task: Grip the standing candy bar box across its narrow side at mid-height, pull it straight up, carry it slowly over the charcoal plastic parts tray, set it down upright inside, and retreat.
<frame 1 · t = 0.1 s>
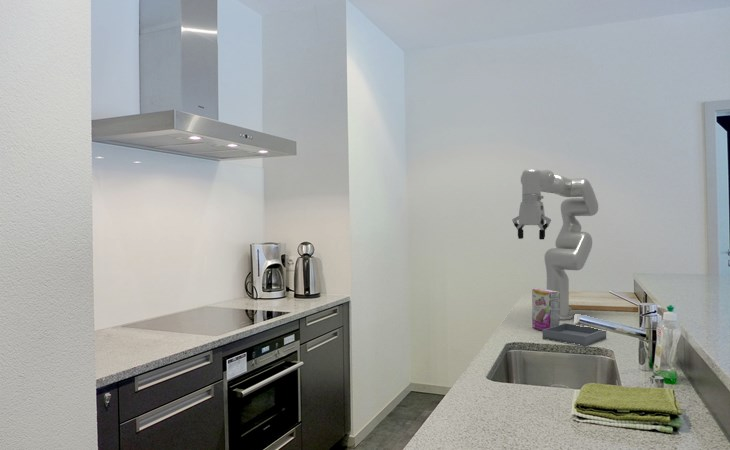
hand: (531, 239, 234), 37 cm above the countertop, tool pointing down, fingers open, 9 cm apart
parts tray: (574, 338, 208), on the countertop
candy bar box: (545, 331, 223), on the countertop
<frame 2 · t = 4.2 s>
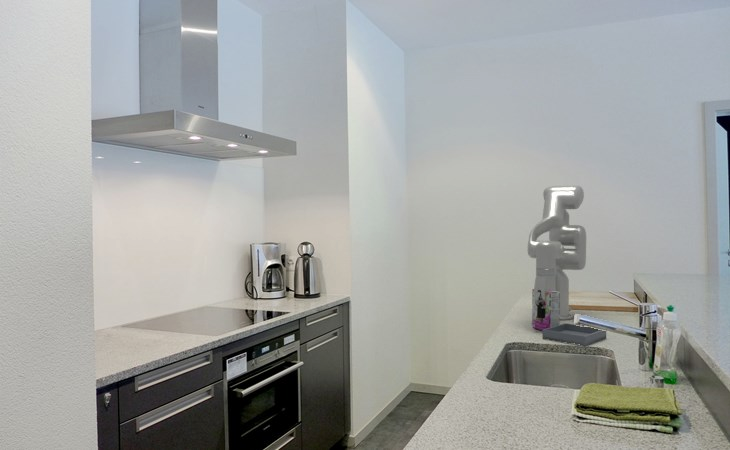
hand: (545, 316, 223), 6 cm above the countertop, tool pointing down, fingers closed on candy bar box, 6 cm apart
candy bar box: (545, 330, 223), on the countertop, touching gripper
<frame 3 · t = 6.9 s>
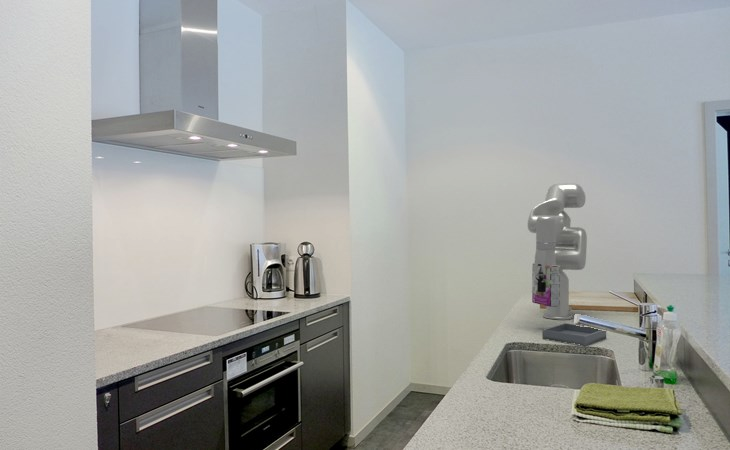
hand: (545, 290, 223), 16 cm above the countertop, tool pointing down, fingers closed on candy bar box, 6 cm apart
candy bar box: (545, 305, 223), point 10 cm above the countertop, touching gripper
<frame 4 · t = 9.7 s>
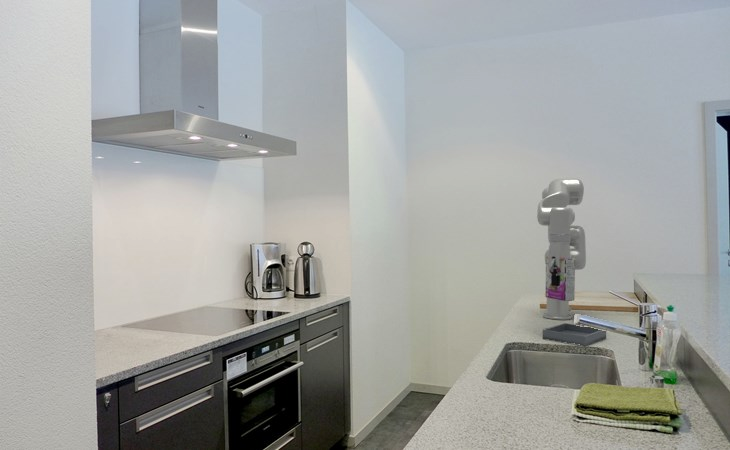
hand: (559, 284, 215), 20 cm above the countertop, tool pointing down, fingers closed on candy bar box, 6 cm apart
candy bar box: (559, 299, 215), point 14 cm above the countertop, touching gripper
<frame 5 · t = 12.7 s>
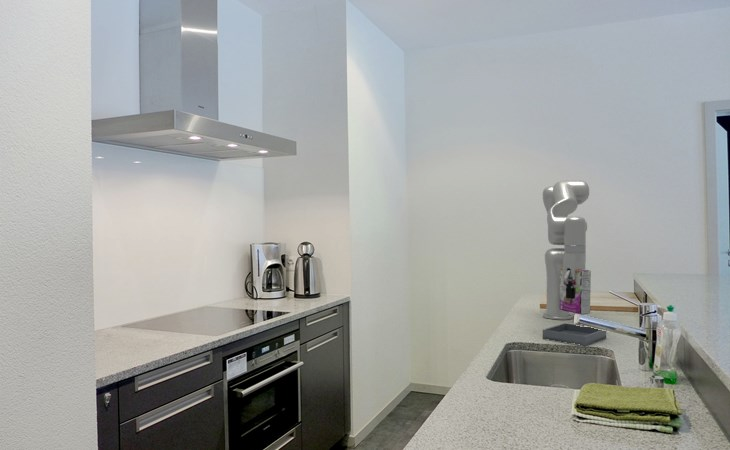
hand: (574, 297, 208), 16 cm above the countertop, tool pointing down, fingers closed on candy bar box, 6 cm apart
candy bar box: (574, 312, 208), point 10 cm above the countertop, touching gripper
when the fingers open (7 cm above the countertop, at t = 15.3 s): candy bar box stays where it is, resting on parts tray.
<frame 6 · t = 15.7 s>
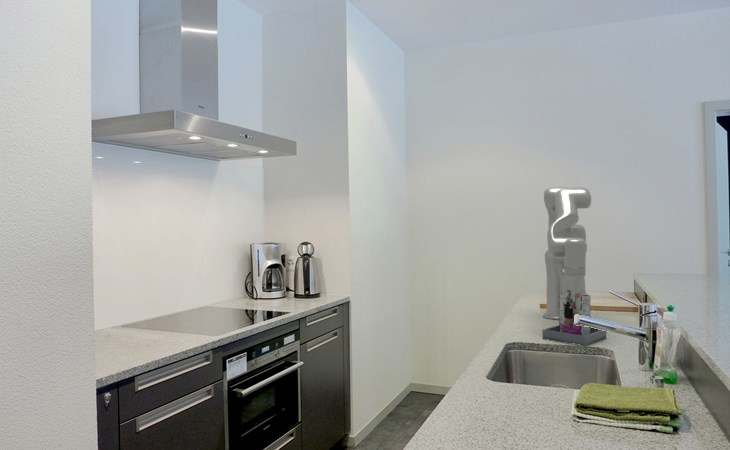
hand: (574, 316, 208), 8 cm above the countertop, tool pointing down, fingers open, 9 cm apart
candy bar box: (574, 336, 208), point 1 cm above the countertop, touching parts tray
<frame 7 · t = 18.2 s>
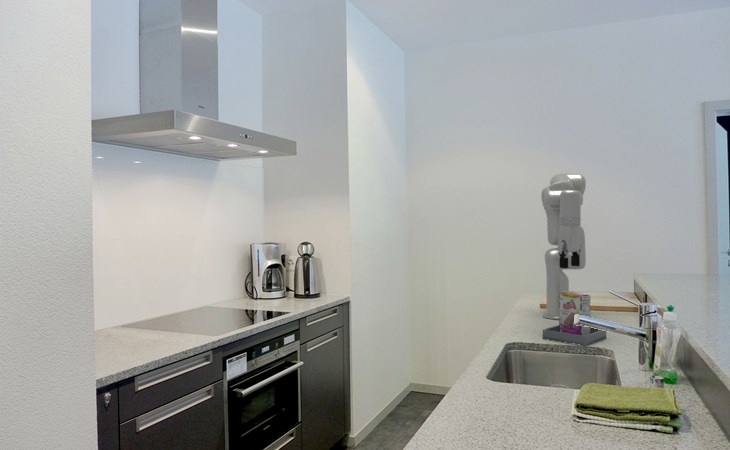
hand: (569, 267, 212), 27 cm above the countertop, tool pointing down, fingers open, 9 cm apart
nothing on the countertop moved.
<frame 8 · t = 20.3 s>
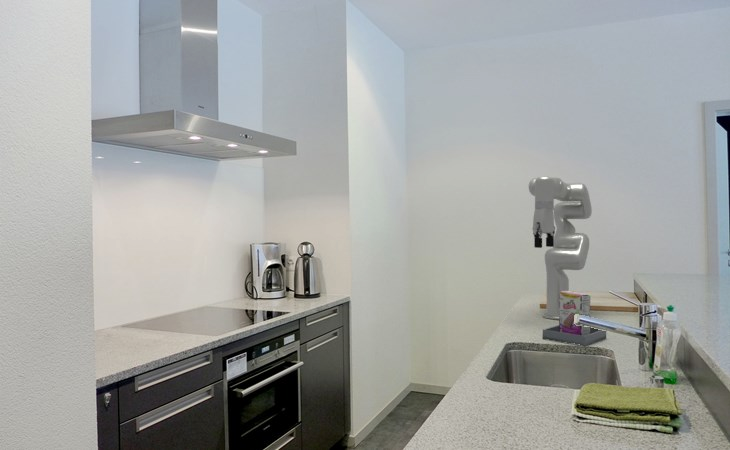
hand: (544, 247, 232), 33 cm above the countertop, tool pointing down, fingers open, 9 cm apart
nothing on the countertop moved.
at the end: candy bar box inside the target area on the parts tray (0.2 cm from its centre), point 0.8 cm above the parts tray's base; candy bar box tilted 0°; the gripper is holding nothing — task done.
